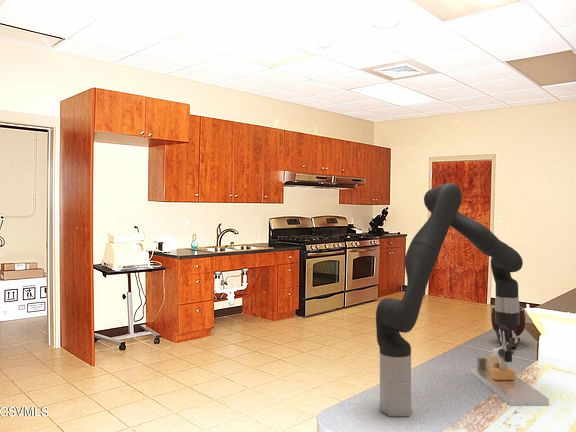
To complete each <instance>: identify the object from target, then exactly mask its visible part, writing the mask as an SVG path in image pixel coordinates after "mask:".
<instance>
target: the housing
mask: <svg viewBox="0 0 576 432" xmlns="http://www.w3.org/2000/svg"><path fill="white" fill-rule="evenodd" d="M482 357H483V370H484V371H485V372H487V373H488V374H489V375H491V368H499V357H497V356H491V355H488V356H487V355H486V356H485V355H483V356H482ZM508 363H509V362H506V368H509V367H508V366H509V365H508Z"/></svg>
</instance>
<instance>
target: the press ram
mask: <svg viewBox="0 0 576 432" xmlns="http://www.w3.org/2000/svg"><path fill="white" fill-rule="evenodd" d="M498 355H499V368H491V377H492V378H493V379H494V380H515V376H516V370H514V369H513V368H511V367H508V368H506V362H505V361H504V357H503V349H502V348H501V349H499V350H498Z"/></svg>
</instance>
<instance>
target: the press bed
mask: <svg viewBox="0 0 576 432" xmlns="http://www.w3.org/2000/svg"><path fill="white" fill-rule="evenodd" d="M470 374H471V375H473V376H474V377H475V378H477V380H479V381H480V382H481V383H482V384H483V385H485V386H486V387H487V388H489V389H490V390H491V391H492V392H493V393H495V395H497V397H499V398H500V399H502V400H503V401H504V402H505V403H507V405H509V406H549V405H550V399H549V398H548V396H546V395H545V394H543V393H541V392H540V391H538V389H535V388H534V387H532V386H531V385H530V384H528V383H527V382H525V381H524V380H522V379H521V378H520V377H518V376H517V375H515V380H494V379H493V378H492V377H491V375H489V374H488V373H487V372H485V371H484V370H483V356H480V357H479V356H478V357H476V367H470Z"/></svg>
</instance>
